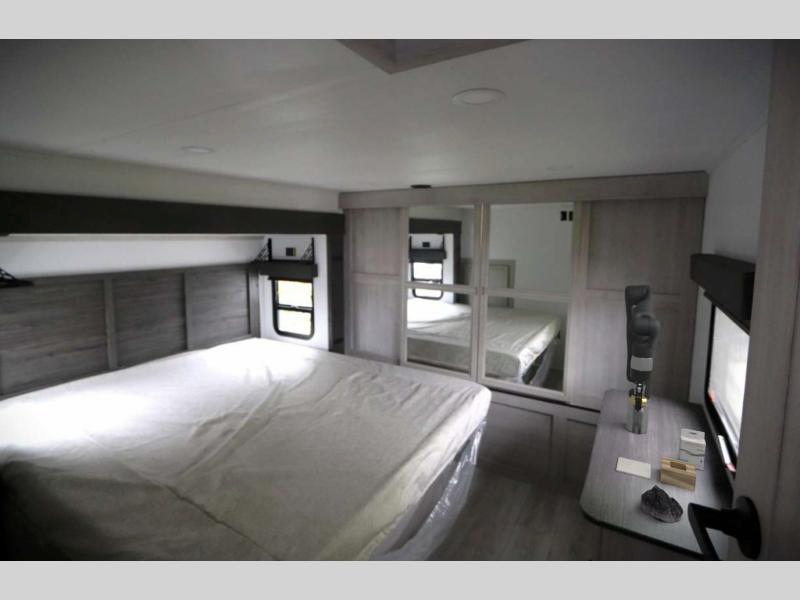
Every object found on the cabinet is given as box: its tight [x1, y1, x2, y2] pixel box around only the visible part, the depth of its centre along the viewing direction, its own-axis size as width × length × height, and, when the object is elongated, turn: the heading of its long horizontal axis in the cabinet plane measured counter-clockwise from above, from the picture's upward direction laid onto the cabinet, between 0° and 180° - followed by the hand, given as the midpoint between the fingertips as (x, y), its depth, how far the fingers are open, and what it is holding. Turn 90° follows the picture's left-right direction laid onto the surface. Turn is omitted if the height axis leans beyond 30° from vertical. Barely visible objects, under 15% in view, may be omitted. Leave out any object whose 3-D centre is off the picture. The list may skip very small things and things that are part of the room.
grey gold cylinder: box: [630, 395, 647, 435], centre depth 169 cm, size 6×6×15 cm
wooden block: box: [659, 456, 697, 493], centre depth 163 cm, size 11×11×6 cm
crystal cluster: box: [640, 484, 684, 523], centre depth 145 cm, size 13×14×10 cm
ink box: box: [677, 427, 707, 471], centre depth 173 cm, size 9×5×15 cm, turn 59°
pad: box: [615, 456, 652, 480], centre depth 173 cm, size 12×12×1 cm
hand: (638, 406), depth 169 cm, fingers closed on grey gold cylinder, 5 cm apart
